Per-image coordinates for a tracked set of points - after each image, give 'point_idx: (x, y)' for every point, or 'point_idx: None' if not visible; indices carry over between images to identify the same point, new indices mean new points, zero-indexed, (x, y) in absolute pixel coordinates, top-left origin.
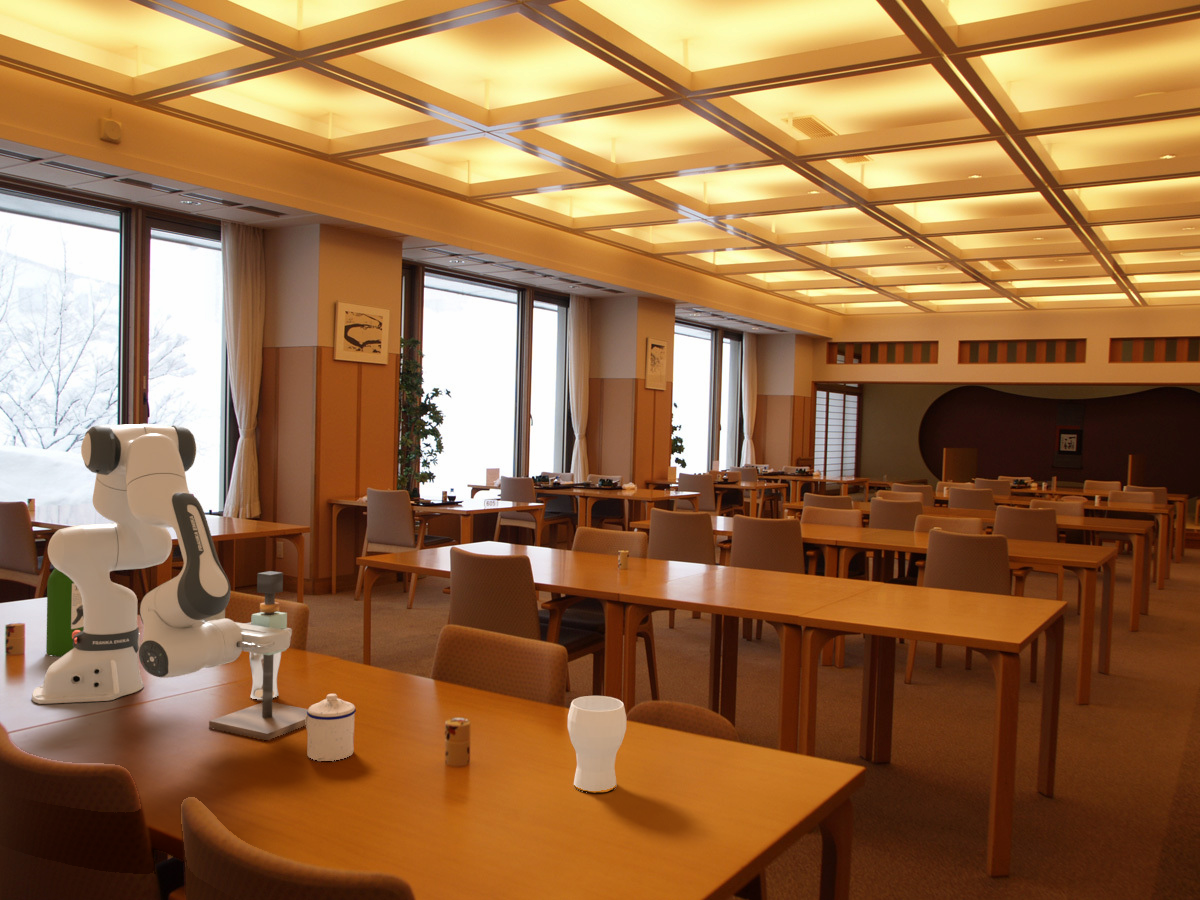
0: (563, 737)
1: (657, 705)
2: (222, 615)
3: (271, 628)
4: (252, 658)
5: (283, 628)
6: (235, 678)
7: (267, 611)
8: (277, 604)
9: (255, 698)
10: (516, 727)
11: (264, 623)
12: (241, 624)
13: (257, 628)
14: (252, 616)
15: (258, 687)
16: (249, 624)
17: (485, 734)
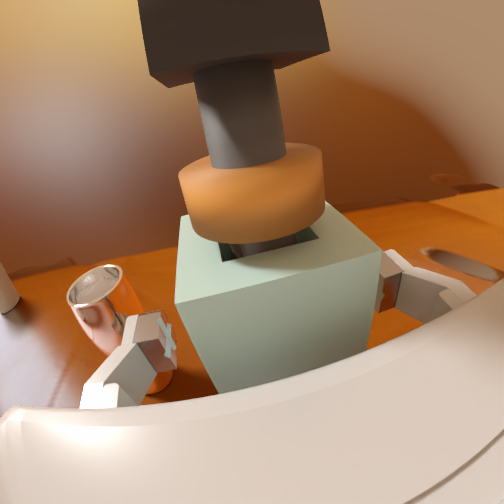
0: (493, 224)
1: (435, 178)
2: (2, 270)
3: (489, 314)
4: (106, 348)
5: (385, 268)
6: (66, 348)
7: (313, 214)
8: (309, 145)
9: (151, 393)
10: (466, 233)
11: (333, 310)
12: (210, 448)
13: (464, 392)
14: (192, 314)
15: None
16: (264, 399)
17: (480, 253)
